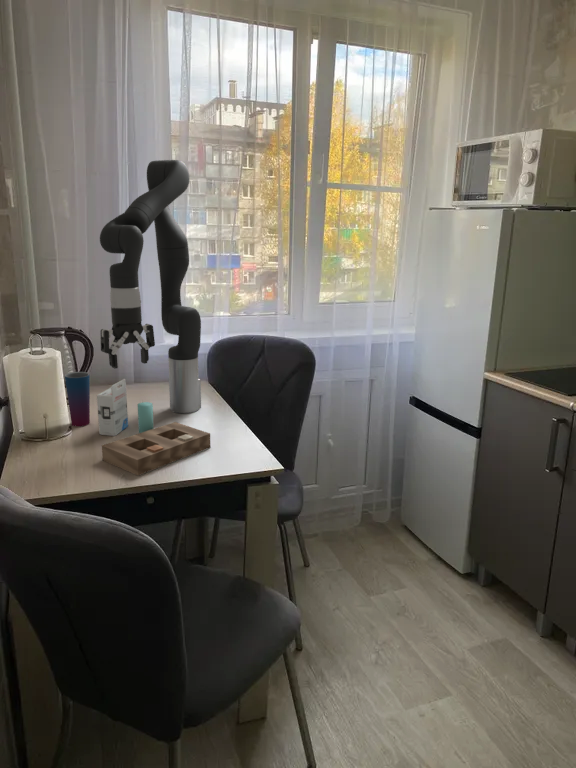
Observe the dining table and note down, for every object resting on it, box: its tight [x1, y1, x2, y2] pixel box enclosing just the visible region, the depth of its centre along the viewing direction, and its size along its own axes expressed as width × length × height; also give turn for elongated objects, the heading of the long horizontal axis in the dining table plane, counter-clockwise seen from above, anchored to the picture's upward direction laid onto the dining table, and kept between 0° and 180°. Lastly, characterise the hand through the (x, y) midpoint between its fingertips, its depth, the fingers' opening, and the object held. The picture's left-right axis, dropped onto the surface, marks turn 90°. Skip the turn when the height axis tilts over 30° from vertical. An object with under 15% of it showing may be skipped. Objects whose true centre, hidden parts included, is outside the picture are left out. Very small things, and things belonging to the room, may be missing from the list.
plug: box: [137, 401, 155, 434], centre depth 159 cm, size 4×4×10 cm
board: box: [101, 421, 211, 476], centre depth 149 cm, size 24×14×4 cm, turn 142°
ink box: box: [96, 378, 129, 437], centre depth 164 cm, size 9×5×15 cm, turn 168°
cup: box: [64, 371, 91, 428], centre depth 169 cm, size 7×7×15 cm
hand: (129, 365), depth 154 cm, fingers open, 8 cm apart
